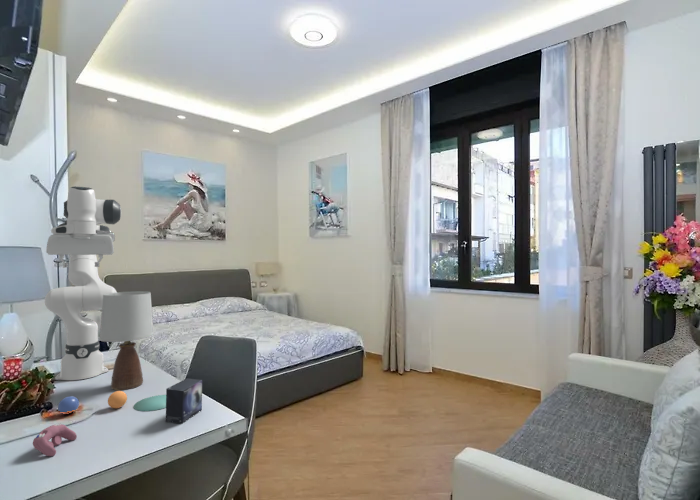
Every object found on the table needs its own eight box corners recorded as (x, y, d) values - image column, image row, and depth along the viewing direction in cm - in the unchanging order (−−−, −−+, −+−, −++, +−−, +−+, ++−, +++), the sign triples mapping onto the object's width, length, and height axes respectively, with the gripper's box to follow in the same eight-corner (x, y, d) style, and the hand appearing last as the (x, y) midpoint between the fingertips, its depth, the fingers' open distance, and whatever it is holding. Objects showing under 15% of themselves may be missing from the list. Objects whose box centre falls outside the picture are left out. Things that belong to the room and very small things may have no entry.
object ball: (107, 407, 128) (107, 390, 128) (126, 403, 131) (126, 387, 131) (108, 412, 123) (108, 395, 123) (127, 408, 126) (127, 392, 126)
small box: (183, 424, 114) (183, 390, 114) (164, 422, 116) (164, 388, 116) (203, 410, 125) (203, 379, 125) (186, 408, 126) (186, 377, 126)
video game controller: (64, 444, 105) (52, 423, 105) (79, 436, 106) (68, 415, 105) (38, 464, 95) (25, 440, 95) (55, 455, 96) (42, 431, 96)
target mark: (131, 401, 133) (131, 400, 133) (174, 392, 141) (174, 392, 141) (135, 414, 121) (135, 414, 121) (181, 404, 129) (181, 404, 129)
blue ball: (58, 413, 123) (58, 396, 123) (79, 409, 126) (79, 392, 126) (57, 419, 118) (57, 401, 118) (78, 414, 121) (78, 397, 121)
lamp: (87, 390, 143) (88, 295, 144) (131, 375, 161) (131, 290, 161) (122, 396, 137) (123, 296, 137) (163, 380, 154) (164, 291, 155)
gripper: (114, 231, 146) (114, 266, 146) (47, 229, 134) (47, 267, 134) (115, 230, 141) (115, 266, 140) (45, 228, 129) (45, 268, 129)
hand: (81, 267), depth 137 cm, fingers open, 8 cm apart
